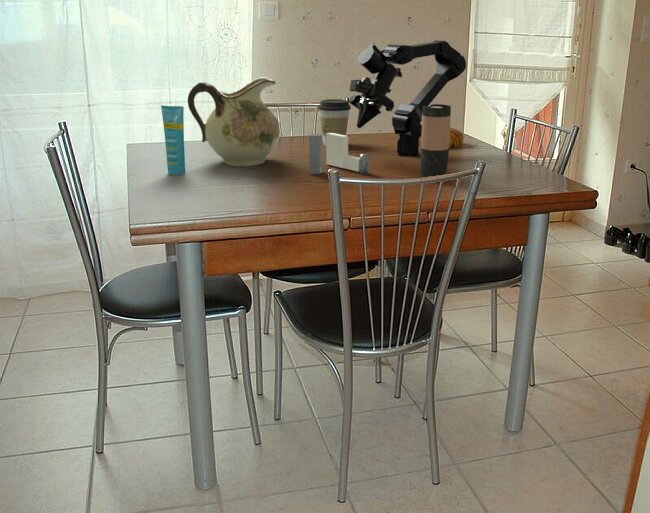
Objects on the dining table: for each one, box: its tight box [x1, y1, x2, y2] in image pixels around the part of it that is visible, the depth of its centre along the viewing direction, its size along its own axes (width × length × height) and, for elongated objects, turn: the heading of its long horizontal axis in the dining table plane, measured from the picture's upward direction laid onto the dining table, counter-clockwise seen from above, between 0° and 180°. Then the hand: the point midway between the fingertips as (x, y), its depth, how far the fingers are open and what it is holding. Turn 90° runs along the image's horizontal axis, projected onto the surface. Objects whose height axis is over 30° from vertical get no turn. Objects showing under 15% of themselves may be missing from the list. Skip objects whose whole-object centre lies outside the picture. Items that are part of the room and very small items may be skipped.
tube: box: [160, 104, 186, 176], centre depth 205 cm, size 7×5×19 cm, turn 72°
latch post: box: [308, 133, 323, 175], centre depth 206 cm, size 3×3×11 cm
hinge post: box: [359, 153, 370, 175], centre depth 207 cm, size 2×2×6 cm
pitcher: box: [187, 76, 281, 167], centre depth 218 cm, size 22×24×25 cm
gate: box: [325, 133, 360, 173], centre depth 212 cm, size 14×2×9 cm, turn 40°
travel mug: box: [420, 103, 452, 178], centre depth 198 cm, size 8×8×20 cm
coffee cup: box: [317, 98, 352, 147], centre depth 246 cm, size 11×11×15 cm
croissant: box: [449, 126, 464, 149], centre depth 248 cm, size 14×16×8 cm
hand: (358, 127), depth 218 cm, fingers closed
